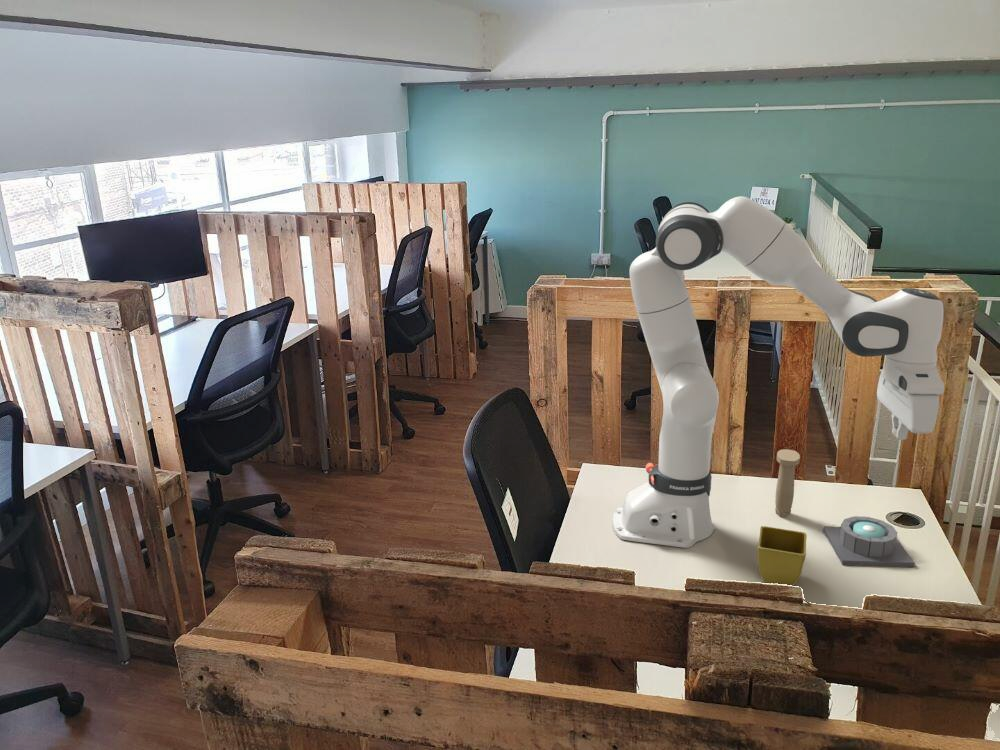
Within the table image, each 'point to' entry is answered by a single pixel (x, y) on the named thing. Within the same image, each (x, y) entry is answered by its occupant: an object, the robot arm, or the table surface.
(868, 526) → the teal rounded cylinder
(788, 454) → the handle
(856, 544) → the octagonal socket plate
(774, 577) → the flower pot
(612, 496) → the table surface
